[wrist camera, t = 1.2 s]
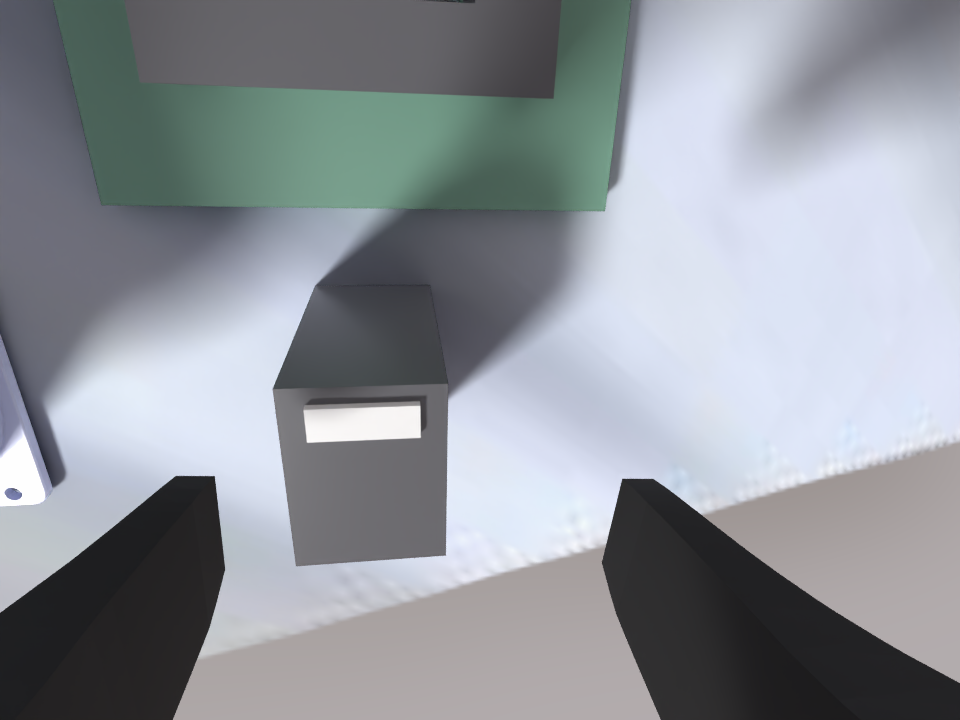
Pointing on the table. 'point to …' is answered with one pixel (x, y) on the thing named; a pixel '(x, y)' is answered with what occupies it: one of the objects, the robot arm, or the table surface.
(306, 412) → the plug
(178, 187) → the board
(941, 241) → the table surface
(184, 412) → the table surface
